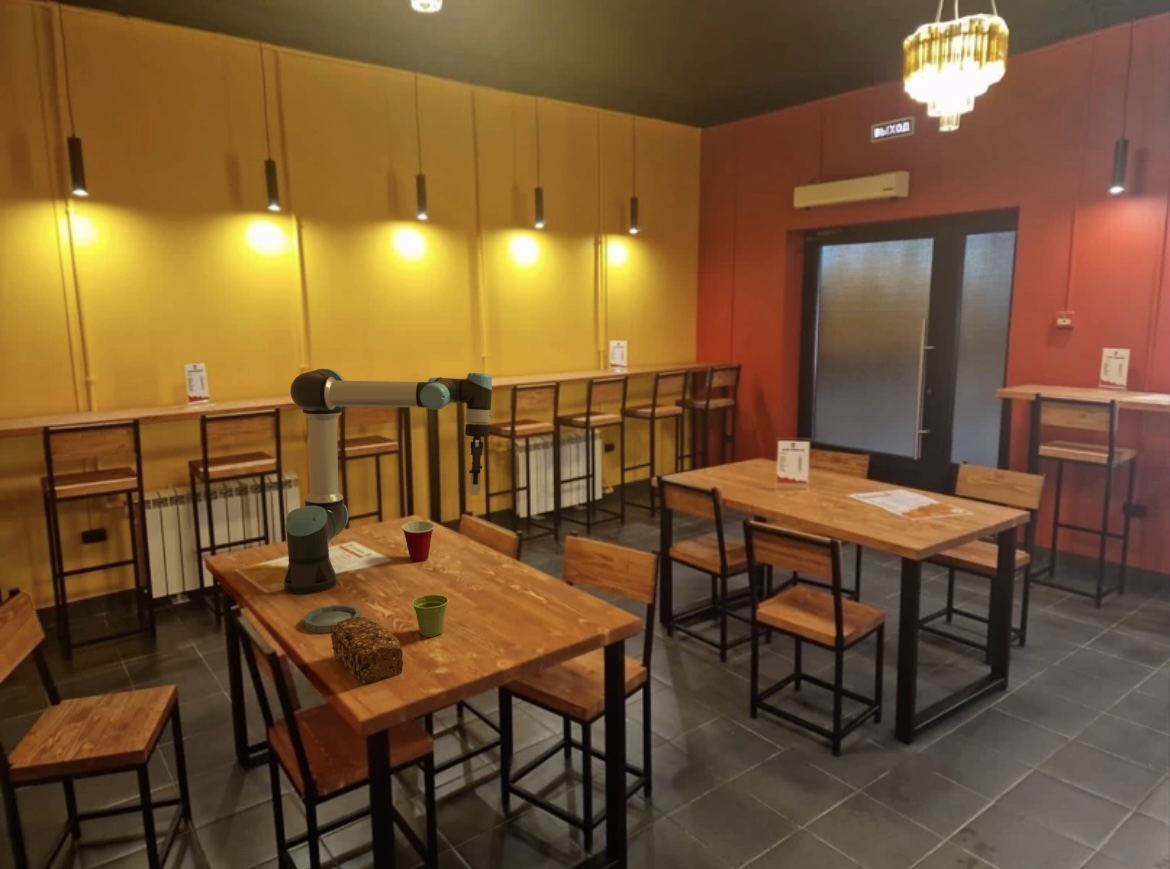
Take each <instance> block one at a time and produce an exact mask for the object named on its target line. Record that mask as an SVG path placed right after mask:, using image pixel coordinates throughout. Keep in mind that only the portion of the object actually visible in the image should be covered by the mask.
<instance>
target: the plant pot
mask: <svg viewBox="0 0 1170 869" xmlns="http://www.w3.org/2000/svg"><path fill="white" fill-rule="evenodd" d="M448 603H449V598H448V597H447V596H445V595H442V594H426V595H421V596H418V597H416V598H414V599H413V600H412V601H411V605H412V607H413V610H414V611H415V615H416V620H417V624H418V631H419V634H420V635H422V636H424V637H426V638H429V637H431V638H433V637H436V636H438V635H442V634H443V633H444V632H445V631H444V630H445V620H446V612H447V611H446V609H447V606H448Z"/></svg>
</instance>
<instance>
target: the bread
mask: <svg viewBox="0 0 1170 869" xmlns="http://www.w3.org/2000/svg"><path fill="white" fill-rule="evenodd" d="M330 634H331V635H330V639H331V644H332V645H331V647H332V650H333V654H334V657H335V659H336V660H337V661H339V663H341V665H342V666H343V668H345V669H346V671H348V672H349V673H350V675H352V676H353V677H355V678H356V679H357V680H358V681H360V683H361V684H363V685H364V684H366V685H368V684H370V683H372V684H373V683H377V682H379V681H380V680H381V679H384V678H385V679H387V678H388V679H389V678H392V677H395V676H400V675H401V674H402V672H403V666H404V660H403V655H404V651H403V648H402V645H401V643H400V640H399V639H397V637H396V636H395V635H394V634H393V633H392V631H390V630H389V629H388V628H387V627H384V626H383V624H381V623H378V622H377V621H374V620H373V619H371V618H368V617H365V616H362V617H360V618H359V617H356V618H354V617H352V618H348V619H345V620H343V621H340V622H338V623H337V624H336V625H335V626H334V627H333V628H332V633H330Z"/></svg>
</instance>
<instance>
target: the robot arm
mask: <svg viewBox="0 0 1170 869" xmlns="http://www.w3.org/2000/svg"><path fill="white" fill-rule="evenodd" d="M492 378H493V377H492V376H491V374H490V373H484V372H483V373H481V372H469V373H468V374H467V377H466V378H453V377H450V378H449V377H441V376H439V377H430V378H429V379H428V381H387V380H386V381H385V380H384V381H379V380H345V378H344V377H343V376H342V375H341V374H340V373H339V372H337V371H335V370H333V369H329V368H317V369H313V370H311V371H306V372H302V373H299V375H297V376H296V377H295V378H294V380H292V383H291V386H290V391H289V392H290V396H291V399H292V401H293V402H294V403H295V405H296V406H297V407H298V408H300V409H302V414H303V415H304V416H305V417H306V418H307V419H308V420H307V426H308V427H307V428H308V462H309V464H308V465H309V466H308V467H309V468H308V469H309V470H308V471H309V493H308V495H306V496H305V497H304V506H301V507H298V508H295V509H292V510H291V511H290V512H288V514H287V515H286V517H285V530H286V531H285V532H286V533H285V534H286V543H287V554H288V555H287V556H288V565H287V567H286V568H287V569H286V571H285V572H286V573H285V575H284V580H283V586H284V587H283V588H284V590H285V591H286V592H288V593H291V594H299V595H301V594H303V595H304V594H313V593H319V592H323V591H326V590H329V589H331V588H333V587H334V586H336V584H337V583H338V580H337V574H336V572H335V569H334V567H333V564H332V562H331V560H330V559H331V558H330V551H329V550H330V547H329V541H331V540H332V539H334V538H335V537H336V536H338V535H339V534H340V533H341V532H342V531H344V528H346V526H347V524H348V521H349V510H348V508H347V506H346V505H345V504H344V496H343V495H342V493H340V492H339V466H338V465H339V460H338V458H339V456H338V453H339V452H338V451H339V450H338V418H339V417H340V416H341V415H342V413H343V407H360V408H362V407H365V408H369V407H371V408H372V407H374V408H379V407H380V408H424V409H425V408H426V409H429V410H440V409H443V408H444V407H446V406H447V405H449V404H465V405H466V406H465V422H466V423H465V425H464V426H465V427H464V431H465V432H464V434H465V436H466V437H473V438H472V441H470V455H471V456H472V458H471V460H472V462H471V469H469V472H468V474H470V490H469V492H470V493H469V495H470V496H480V492H481V491H480V487H481V486H480V485H481V470H482V469H483V465H481V459H482V458H481V457H482V456H483V449H484V442H483V441H482V438H483V437H484V438H487V437H490V434H491V425H490V423H491V417H492V416H493V413H492V412H491V409H492V407H491V406H492V396H493V393H492V392H493V387H492V386H493V384H492V382H493V381H492Z"/></svg>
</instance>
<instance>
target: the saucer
mask: <svg viewBox="0 0 1170 869" xmlns="http://www.w3.org/2000/svg"><path fill="white" fill-rule="evenodd" d="M352 617H354V618H356V617H359V618H360V617H363V616H362V610H361V609H360V608H359V607H358V606H354V605H350V604H331V605H327V606H320V607H318V608H315V609H312V610H310V611H309V612H307V613H306V614H305V615H304V617H303V625H304V628H305V630H306V631H309V632H312V633H316V634H332V633H331V632H332V628H333V627H334V626H335V625H336V624H337V623H338V622H340V621H343V620H345V619H348V618H352Z"/></svg>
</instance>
